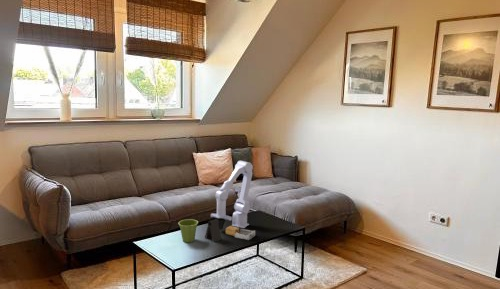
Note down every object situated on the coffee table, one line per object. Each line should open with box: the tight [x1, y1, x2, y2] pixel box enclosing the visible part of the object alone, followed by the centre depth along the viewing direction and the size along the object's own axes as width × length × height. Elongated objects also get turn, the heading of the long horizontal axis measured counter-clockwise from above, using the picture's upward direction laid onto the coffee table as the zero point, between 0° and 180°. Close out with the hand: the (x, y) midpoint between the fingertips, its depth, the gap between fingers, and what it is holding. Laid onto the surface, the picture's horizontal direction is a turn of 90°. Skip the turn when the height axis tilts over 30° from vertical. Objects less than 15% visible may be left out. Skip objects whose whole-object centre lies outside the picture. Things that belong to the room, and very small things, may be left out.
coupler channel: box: [234, 228, 256, 241], centre depth 230 cm, size 10×9×3 cm
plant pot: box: [178, 218, 199, 243], centre depth 221 cm, size 12×12×11 cm
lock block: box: [225, 225, 240, 237], centre depth 233 cm, size 7×5×4 cm
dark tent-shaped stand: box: [204, 218, 222, 243], centre depth 224 cm, size 9×6×12 cm, turn 46°
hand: (221, 229), depth 237 cm, fingers closed
